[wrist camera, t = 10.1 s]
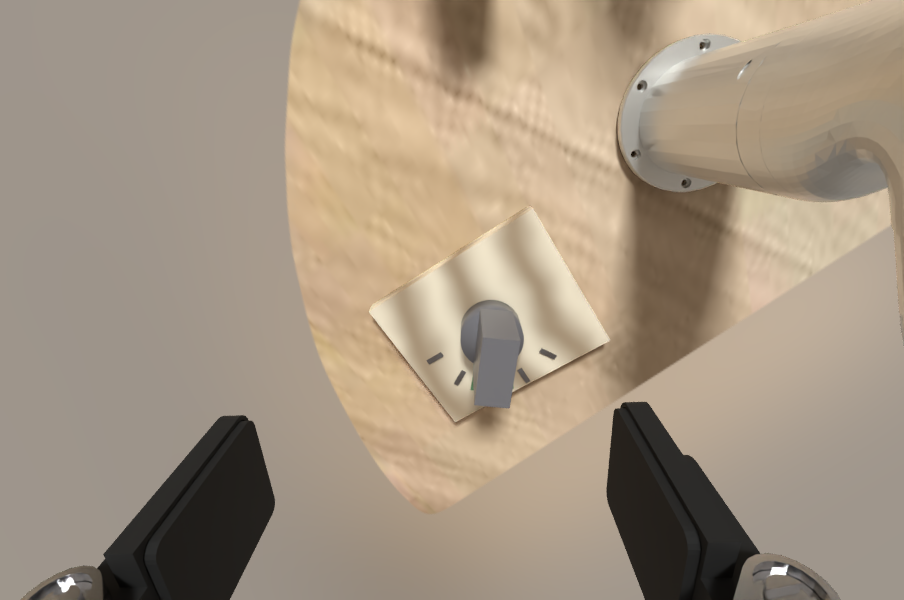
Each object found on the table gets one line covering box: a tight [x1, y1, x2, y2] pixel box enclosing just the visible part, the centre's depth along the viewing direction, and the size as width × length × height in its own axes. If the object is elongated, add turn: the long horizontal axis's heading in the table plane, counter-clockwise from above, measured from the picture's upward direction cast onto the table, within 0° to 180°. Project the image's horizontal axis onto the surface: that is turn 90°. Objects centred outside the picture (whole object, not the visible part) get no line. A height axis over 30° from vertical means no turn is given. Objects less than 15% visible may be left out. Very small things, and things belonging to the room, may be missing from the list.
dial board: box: [369, 205, 610, 422], centre depth 45 cm, size 19×16×2 cm
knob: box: [461, 300, 524, 408], centre depth 41 cm, size 11×6×9 cm, turn 175°
